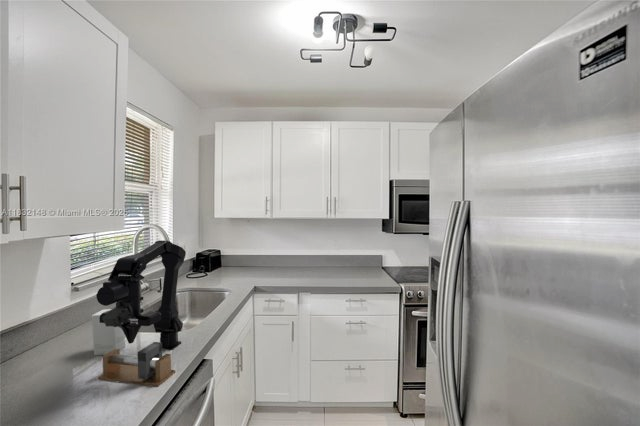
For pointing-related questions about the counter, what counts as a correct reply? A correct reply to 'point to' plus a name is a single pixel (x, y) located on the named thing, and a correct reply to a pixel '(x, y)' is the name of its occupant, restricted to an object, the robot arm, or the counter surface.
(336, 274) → the counter surface
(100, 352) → the skincare box
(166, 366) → the pipe rig
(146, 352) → the collar
